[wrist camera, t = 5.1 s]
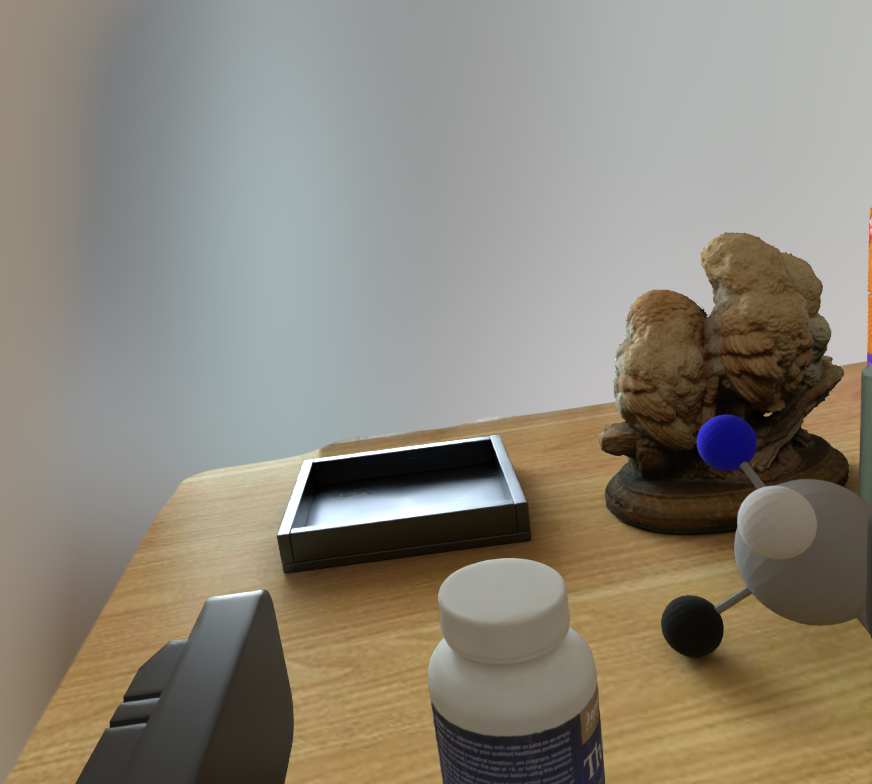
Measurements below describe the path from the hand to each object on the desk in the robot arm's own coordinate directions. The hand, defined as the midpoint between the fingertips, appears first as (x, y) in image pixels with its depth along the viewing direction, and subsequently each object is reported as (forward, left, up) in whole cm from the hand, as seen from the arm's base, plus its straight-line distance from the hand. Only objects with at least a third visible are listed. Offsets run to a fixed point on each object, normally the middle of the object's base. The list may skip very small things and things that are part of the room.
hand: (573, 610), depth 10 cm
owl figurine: (+18, +38, -16) cm, 45 cm away
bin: (-4, +41, -16) cm, 44 cm away
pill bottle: (0, +12, -16) cm, 21 cm away
